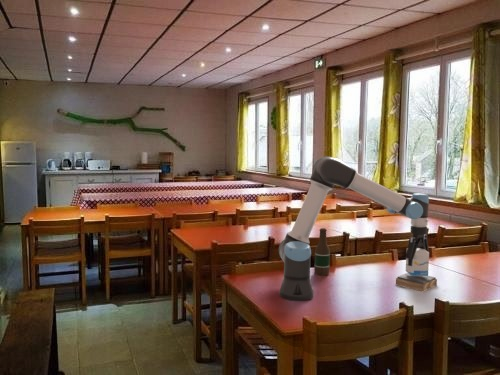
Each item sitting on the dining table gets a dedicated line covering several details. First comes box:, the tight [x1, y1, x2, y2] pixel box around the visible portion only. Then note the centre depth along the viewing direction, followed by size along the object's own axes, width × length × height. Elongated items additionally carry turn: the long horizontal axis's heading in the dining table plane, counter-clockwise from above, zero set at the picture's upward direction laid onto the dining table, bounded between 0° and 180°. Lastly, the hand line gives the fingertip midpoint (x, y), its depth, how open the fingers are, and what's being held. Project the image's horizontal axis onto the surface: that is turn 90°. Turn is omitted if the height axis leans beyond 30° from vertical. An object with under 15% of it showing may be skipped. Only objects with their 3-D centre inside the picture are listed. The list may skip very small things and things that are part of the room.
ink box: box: [405, 247, 430, 276], centre depth 226 cm, size 9×8×12 cm
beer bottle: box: [313, 228, 331, 277], centre depth 243 cm, size 8×8×24 cm
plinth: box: [395, 272, 438, 292], centre depth 227 cm, size 14×14×4 cm
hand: (416, 269), depth 226 cm, fingers closed on ink box, 11 cm apart
